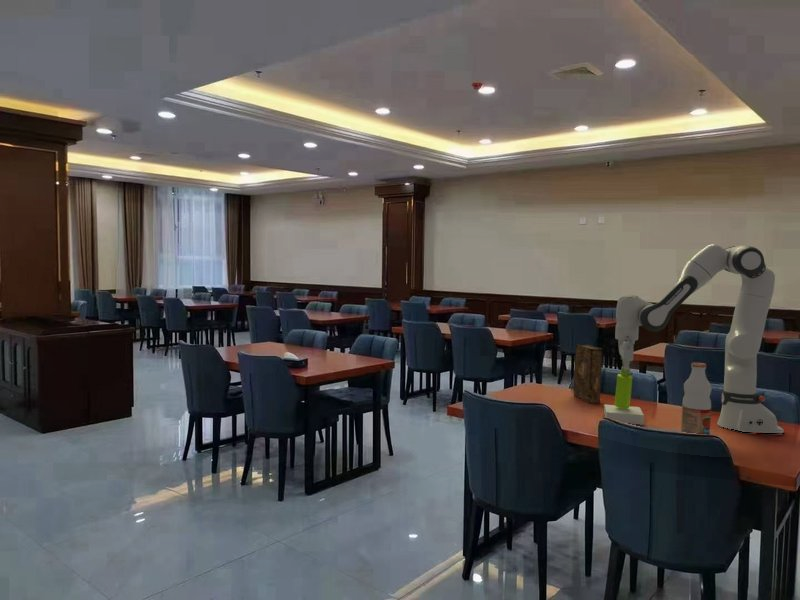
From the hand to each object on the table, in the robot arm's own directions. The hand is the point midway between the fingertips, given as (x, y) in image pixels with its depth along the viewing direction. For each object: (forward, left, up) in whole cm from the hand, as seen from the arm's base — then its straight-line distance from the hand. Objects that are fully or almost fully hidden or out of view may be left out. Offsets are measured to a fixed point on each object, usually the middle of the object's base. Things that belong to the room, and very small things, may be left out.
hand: (625, 368), depth 243 cm
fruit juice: (-23, +21, -21) cm, 38 cm away
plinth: (0, 0, -21) cm, 21 cm away
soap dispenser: (+1, -2, -16) cm, 16 cm away
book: (+13, -33, -21) cm, 41 cm away
